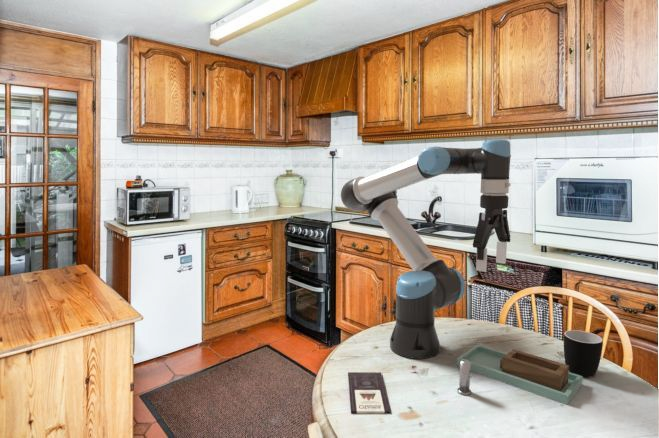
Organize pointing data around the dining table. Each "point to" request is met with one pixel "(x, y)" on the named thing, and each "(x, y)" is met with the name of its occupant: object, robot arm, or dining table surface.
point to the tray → (489, 365)
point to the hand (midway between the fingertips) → (491, 266)
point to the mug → (582, 352)
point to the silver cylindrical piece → (464, 377)
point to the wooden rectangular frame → (535, 369)
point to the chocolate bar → (367, 393)
